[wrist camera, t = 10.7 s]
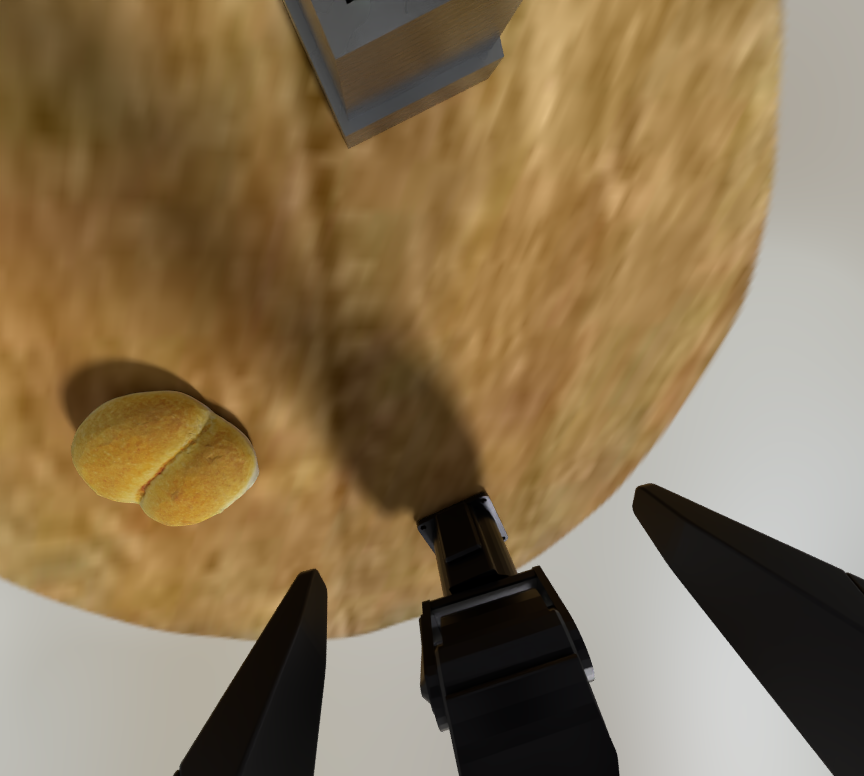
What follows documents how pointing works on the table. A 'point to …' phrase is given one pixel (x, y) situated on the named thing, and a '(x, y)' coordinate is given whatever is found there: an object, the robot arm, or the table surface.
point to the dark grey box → (397, 54)
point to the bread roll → (164, 456)
